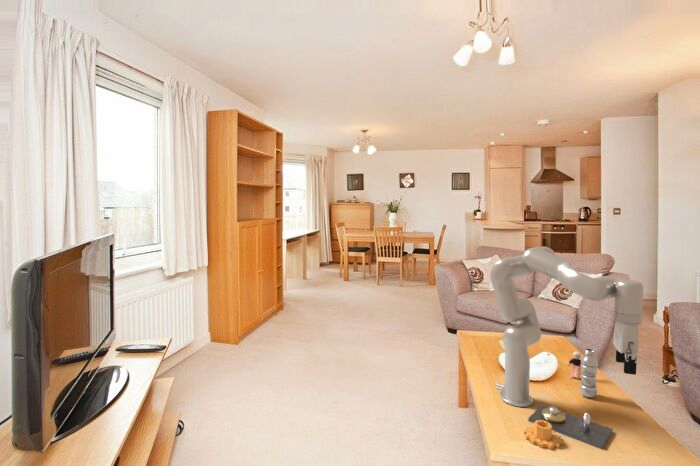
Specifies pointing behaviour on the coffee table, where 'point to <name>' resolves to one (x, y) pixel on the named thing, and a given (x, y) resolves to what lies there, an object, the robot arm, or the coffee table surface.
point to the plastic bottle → (589, 374)
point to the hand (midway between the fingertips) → (625, 367)
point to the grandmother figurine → (575, 365)
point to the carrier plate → (573, 426)
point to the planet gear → (543, 435)
